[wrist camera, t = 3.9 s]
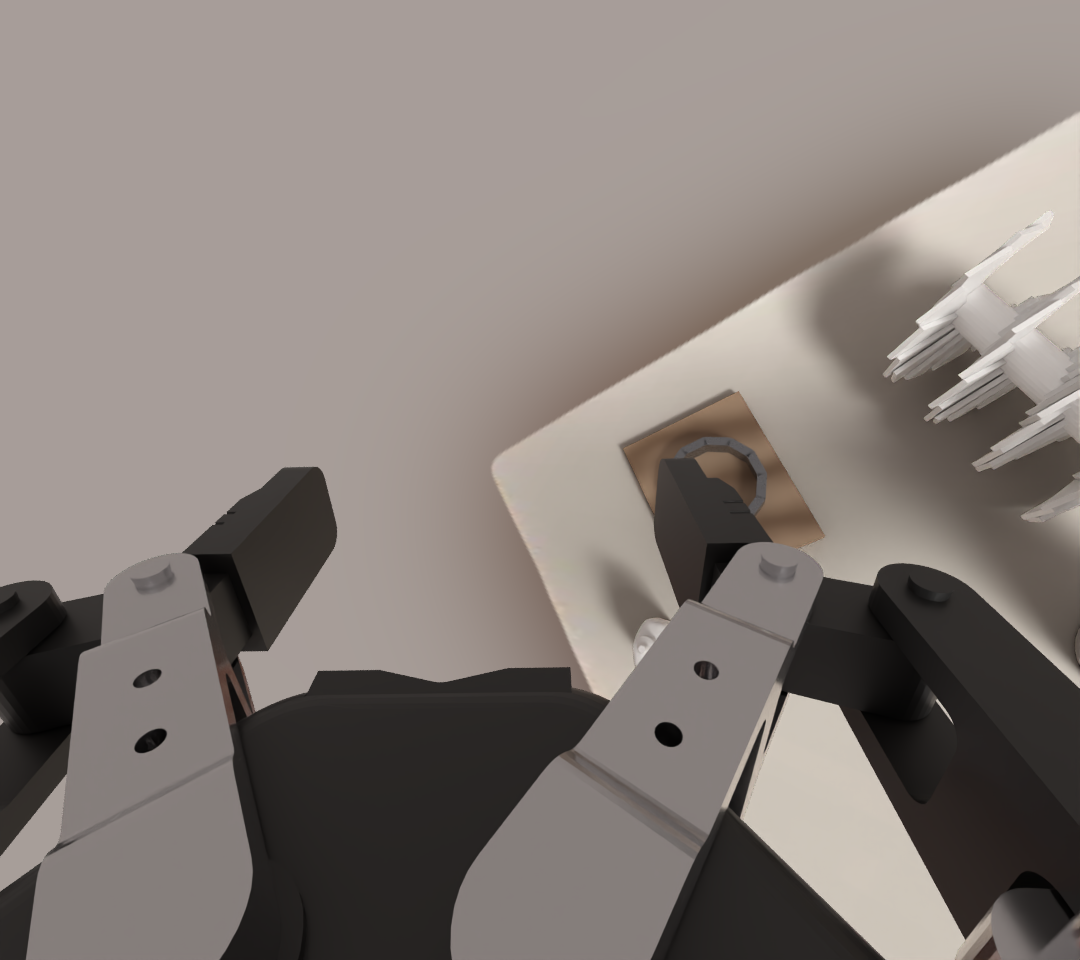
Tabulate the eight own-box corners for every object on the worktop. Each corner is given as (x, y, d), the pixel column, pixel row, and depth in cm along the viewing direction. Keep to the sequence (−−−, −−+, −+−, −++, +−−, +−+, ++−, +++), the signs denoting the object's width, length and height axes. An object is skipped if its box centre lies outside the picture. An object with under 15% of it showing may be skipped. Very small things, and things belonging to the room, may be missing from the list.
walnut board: (823, 537, 57) (825, 536, 56) (691, 591, 61) (689, 591, 59) (738, 395, 64) (738, 391, 63) (625, 451, 68) (622, 448, 66)
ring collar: (783, 510, 58) (785, 505, 55) (692, 549, 60) (690, 546, 58) (737, 429, 62) (736, 420, 59) (653, 469, 64) (649, 462, 62)
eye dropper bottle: (689, 638, 60) (678, 645, 49) (657, 672, 60) (639, 686, 49) (661, 611, 61) (644, 612, 51) (630, 644, 62) (607, 652, 51)
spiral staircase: (1044, 539, 53) (877, 366, 62) (1280, 432, 43) (1042, 245, 52) (1069, 575, 39) (849, 347, 48) (1425, 431, 29) (1066, 176, 38)
